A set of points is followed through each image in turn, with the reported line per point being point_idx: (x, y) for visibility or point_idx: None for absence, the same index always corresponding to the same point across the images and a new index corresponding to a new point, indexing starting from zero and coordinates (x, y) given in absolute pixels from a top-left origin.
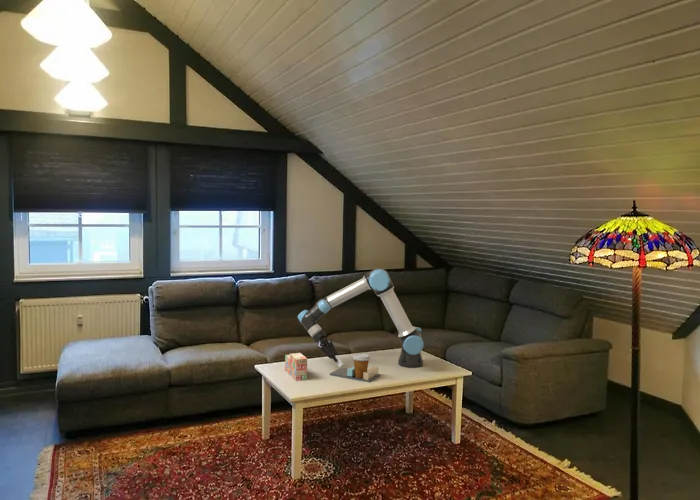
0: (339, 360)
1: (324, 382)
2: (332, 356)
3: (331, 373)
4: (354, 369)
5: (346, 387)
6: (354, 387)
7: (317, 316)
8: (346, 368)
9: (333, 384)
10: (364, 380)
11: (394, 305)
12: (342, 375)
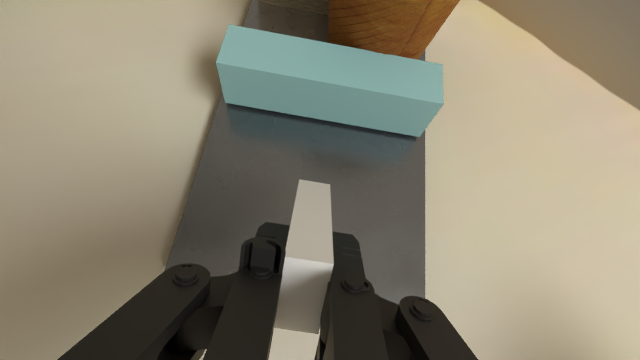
0: (326, 210)
1: (616, 271)
2: (395, 307)
3: (417, 293)
4: (414, 50)
5: (588, 98)
6: (555, 60)
7: None
8: (186, 212)
9: (602, 189)
10: None
11: None
12: (419, 177)
